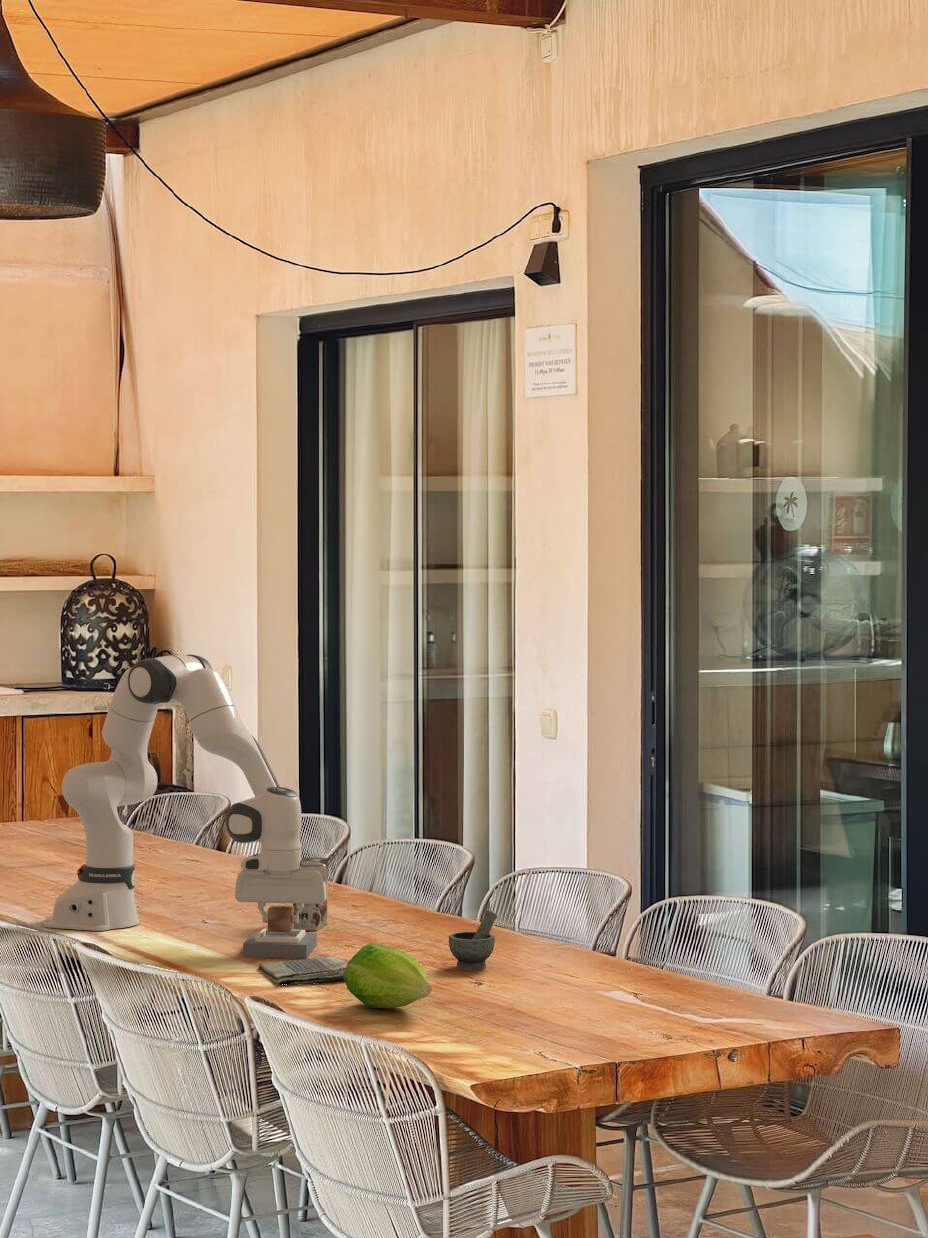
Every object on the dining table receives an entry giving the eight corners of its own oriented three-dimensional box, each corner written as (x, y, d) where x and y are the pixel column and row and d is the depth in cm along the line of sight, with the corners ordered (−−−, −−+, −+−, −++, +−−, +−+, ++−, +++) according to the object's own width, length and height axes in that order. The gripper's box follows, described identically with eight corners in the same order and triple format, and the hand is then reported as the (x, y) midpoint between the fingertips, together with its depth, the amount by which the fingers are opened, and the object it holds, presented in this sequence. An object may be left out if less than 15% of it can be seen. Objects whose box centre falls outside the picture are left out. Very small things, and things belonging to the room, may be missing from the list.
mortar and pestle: (464, 974, 380) (464, 917, 380) (440, 966, 388) (440, 910, 388) (507, 968, 386) (508, 913, 386) (483, 961, 394) (484, 906, 394)
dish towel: (255, 971, 383) (255, 956, 383) (336, 966, 390) (336, 951, 390) (278, 990, 366) (278, 974, 366) (362, 984, 372) (362, 968, 372)
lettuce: (397, 1026, 335) (398, 962, 335) (331, 1006, 350) (331, 945, 350) (453, 1015, 344) (453, 952, 344) (386, 996, 359) (387, 936, 359)
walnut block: (267, 931, 399) (267, 909, 399) (271, 927, 404) (271, 905, 404) (289, 932, 399) (290, 910, 399) (293, 928, 404) (293, 906, 404)
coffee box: (317, 931, 425) (318, 863, 425) (291, 930, 426) (292, 862, 426) (328, 924, 434) (329, 857, 434) (302, 923, 435) (303, 856, 435)
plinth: (243, 957, 395) (243, 938, 395) (255, 944, 409) (255, 926, 409) (306, 958, 394) (306, 940, 394) (316, 946, 408) (316, 928, 408)
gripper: (329, 859, 403) (329, 921, 404) (239, 857, 405) (238, 919, 405) (325, 864, 397) (324, 926, 397) (233, 862, 399) (233, 924, 399)
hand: (280, 922), depth 401 cm, fingers closed on walnut block, 5 cm apart
